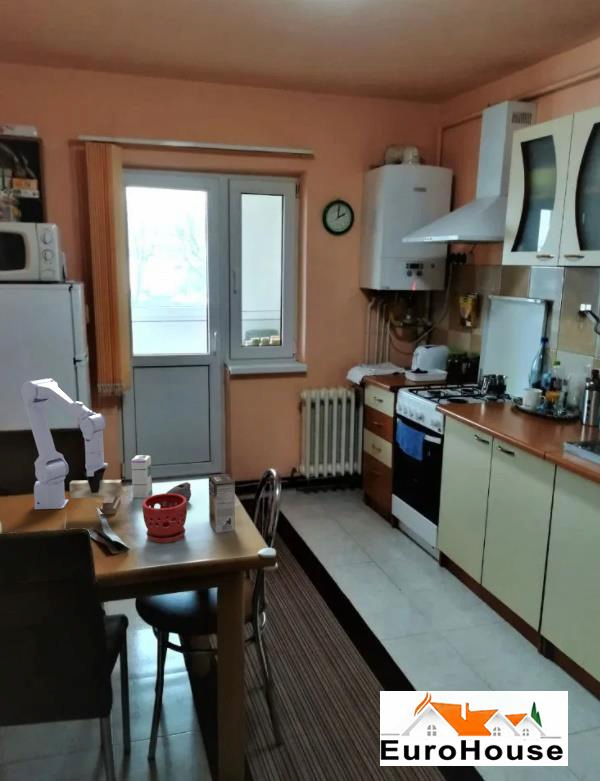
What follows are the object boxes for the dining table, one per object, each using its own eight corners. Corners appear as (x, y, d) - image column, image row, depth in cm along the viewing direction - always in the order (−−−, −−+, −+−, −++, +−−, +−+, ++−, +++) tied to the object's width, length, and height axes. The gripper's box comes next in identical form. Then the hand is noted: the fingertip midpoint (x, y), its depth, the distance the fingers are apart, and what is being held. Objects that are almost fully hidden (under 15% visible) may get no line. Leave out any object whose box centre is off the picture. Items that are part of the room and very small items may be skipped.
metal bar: (70, 498, 201) (69, 483, 200) (72, 495, 204) (71, 480, 203) (120, 497, 203) (119, 482, 202) (121, 494, 206) (121, 479, 205)
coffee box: (208, 522, 199) (207, 475, 196) (227, 520, 201) (227, 473, 199) (215, 533, 191) (214, 483, 188) (235, 530, 193) (235, 481, 190)
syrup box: (148, 498, 221) (147, 459, 219) (132, 497, 221) (130, 459, 219) (152, 492, 227) (151, 455, 224) (136, 492, 227) (135, 454, 224)
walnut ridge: (100, 514, 205) (99, 502, 204) (105, 503, 215) (105, 492, 214) (115, 513, 206) (115, 502, 205) (120, 503, 215) (120, 492, 215)
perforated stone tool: (166, 514, 206) (166, 494, 205) (155, 511, 209) (154, 491, 208) (195, 501, 219) (195, 482, 218) (184, 498, 221) (184, 480, 220)
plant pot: (142, 531, 192) (141, 494, 190) (185, 527, 195) (184, 491, 193) (144, 548, 179) (142, 509, 177) (189, 543, 183) (188, 505, 181)
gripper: (102, 456, 194) (103, 497, 196) (111, 445, 208) (112, 483, 211) (79, 457, 193) (81, 498, 196) (90, 445, 208) (91, 483, 210)
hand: (96, 490), depth 203 cm, fingers closed on metal bar, 3 cm apart
